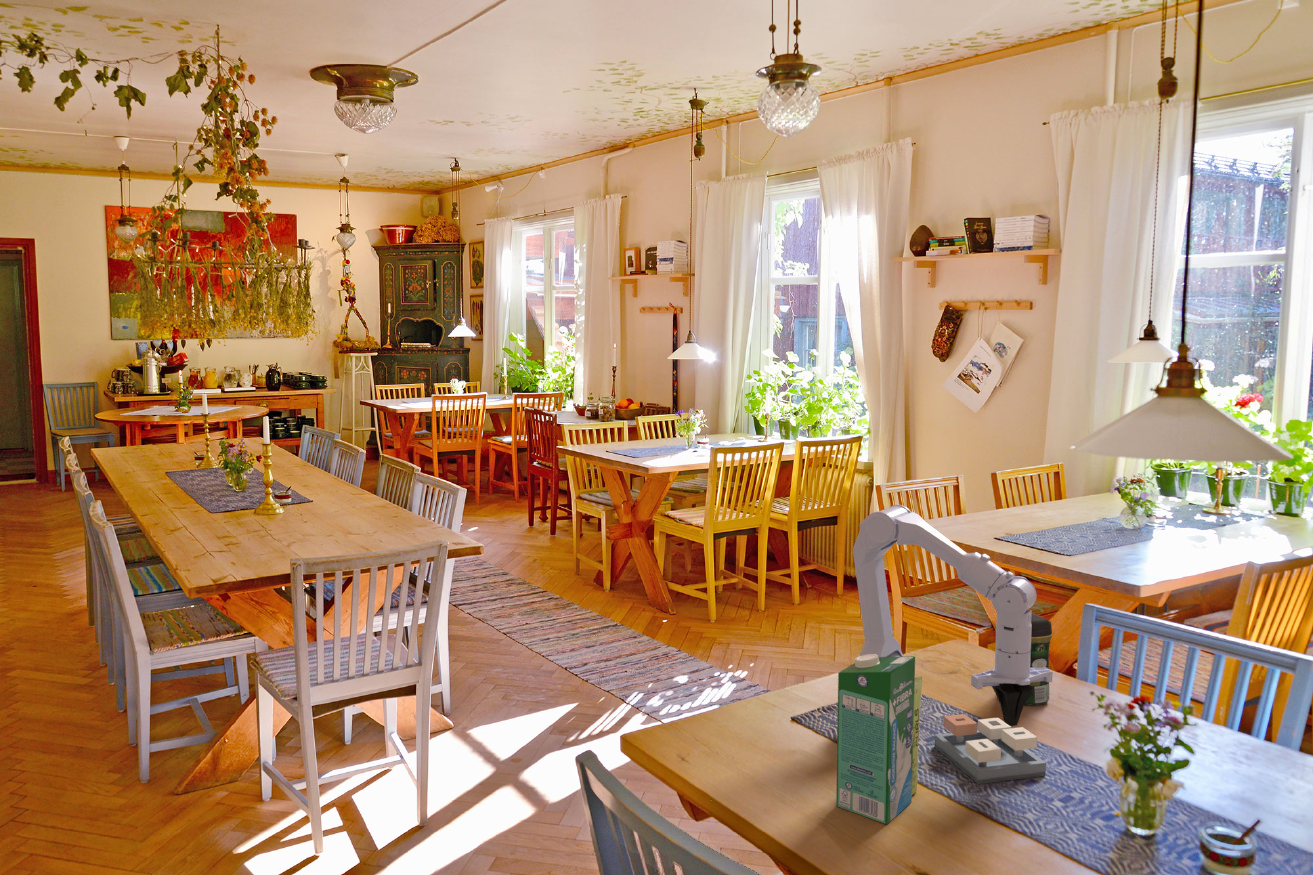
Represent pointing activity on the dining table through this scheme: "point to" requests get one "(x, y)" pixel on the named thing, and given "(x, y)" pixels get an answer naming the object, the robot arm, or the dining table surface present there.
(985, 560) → the robot arm
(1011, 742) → the key
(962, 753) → the keypad base
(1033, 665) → the coffee jar
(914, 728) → the tube
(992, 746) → the key
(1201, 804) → the dining table surface
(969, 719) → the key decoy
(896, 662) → the milk carton
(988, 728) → the key
